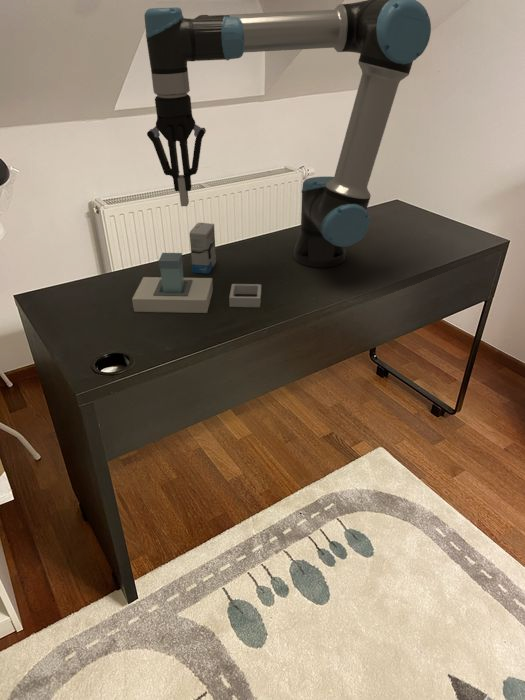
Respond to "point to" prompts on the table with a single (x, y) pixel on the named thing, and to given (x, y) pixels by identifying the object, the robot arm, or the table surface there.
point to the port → (173, 296)
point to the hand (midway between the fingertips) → (184, 204)
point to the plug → (172, 272)
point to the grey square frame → (245, 301)
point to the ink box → (203, 248)
